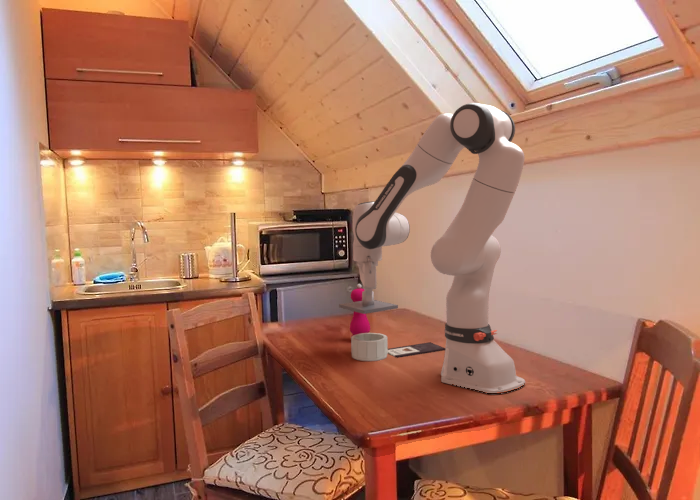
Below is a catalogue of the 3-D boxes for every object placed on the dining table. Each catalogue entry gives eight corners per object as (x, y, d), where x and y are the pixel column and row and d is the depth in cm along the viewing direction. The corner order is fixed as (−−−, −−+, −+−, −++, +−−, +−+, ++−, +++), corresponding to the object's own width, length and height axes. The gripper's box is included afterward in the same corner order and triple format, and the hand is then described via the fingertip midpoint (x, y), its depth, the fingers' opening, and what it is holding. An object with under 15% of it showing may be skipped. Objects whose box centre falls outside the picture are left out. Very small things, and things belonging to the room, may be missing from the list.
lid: (397, 308, 161) (397, 292, 161) (364, 313, 153) (363, 297, 153) (371, 302, 171) (371, 287, 171) (339, 307, 164) (338, 291, 164)
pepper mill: (362, 344, 178) (361, 285, 176) (345, 341, 182) (344, 284, 180) (374, 339, 183) (373, 283, 182) (358, 337, 188) (356, 281, 186)
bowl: (394, 356, 162) (394, 337, 162) (366, 363, 156) (365, 343, 156) (372, 349, 171) (372, 331, 171) (345, 355, 165) (344, 336, 164)
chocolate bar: (445, 348, 169) (397, 356, 161) (445, 351, 169) (397, 359, 161) (430, 342, 177) (383, 349, 169) (430, 344, 177) (383, 352, 169)
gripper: (381, 257, 151) (381, 305, 152) (374, 251, 171) (375, 293, 172) (359, 258, 151) (360, 306, 152) (355, 252, 171) (356, 294, 172)
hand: (368, 299), depth 162 cm, fingers closed on lid, 4 cm apart
